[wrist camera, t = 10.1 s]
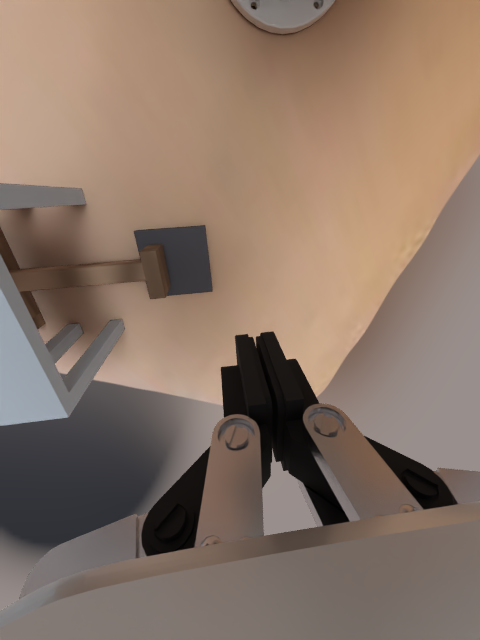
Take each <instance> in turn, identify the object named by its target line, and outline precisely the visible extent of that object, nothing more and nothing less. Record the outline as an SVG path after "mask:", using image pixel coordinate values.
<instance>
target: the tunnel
mask: <svg viewBox="0 0 480 640" xmlns="http://www.w3.org/2000/svg"><path fill="white" fill-rule="evenodd" d="M84 204H86V201H85V198H84V195H83V192H82V189H78V188H64V187H49V186H34V185H19V184H4V183H0V210H5V209H21V208H34V207H51V206H68V205H84ZM124 329H125V328H124V324H123V321H122V319H119V320H110V321H109V323H108V324H107V325H106V326H105V328H104V329H103V330H102V331H101V333H100V334H99V335H98V336H97V338H96V339H95V340H94V341H93V343H92V344H91V345H90V346H89V348H88V349H87V350H86V351H85V353H84V354H83V355H82V356H81V358H80V359H79V360H78V361H77V363H76V364H75V365H74V366H73V367H72V369H71V370H70V371H69V372H68V374H67V375H66V377H65V378H64V379H63V380H62V378H61V376H60V374H59V372H58V370H57V368H56V366H55V363H56V362H57V361H58V360H59V359H60V358H61V357H62V355H63V354H64V353H65V352H66V351H67V350H68V349H69V348H70V347H71V346H72V345H73V344H74V343H75V341H76V340H77V339H78V338H79V337H80V336H81V335H82V334H83V331H82V329H81V326H80V324H79V323H78V324H68V325H66V326H65V327H64V328H63V329H62V330H61V331H60V332H59V333H58V334H56V335H55V336H54V337H53V338H52V339H51V340H50V341H49V342H48V343H46V344H44V342H43V340H42V338H41V335H40V333H39V331H38V329H37V327H36V325H35V323H34V321H33V319H32V317H31V315H30V313H29V311H28V309H27V307H26V305H25V303H24V301H23V299H22V297H21V295H20V293H19V291H18V289H17V287H16V285H15V283H14V281H13V279H12V277H11V275H10V273H9V271H8V269H7V267H6V265H5V263H4V261H3V259H2V257H1V255H0V426H1V425H10V424H18V423H26V422H34V421H42V420H50V419H58V418H66V417H69V415H70V414H71V412H72V411H73V409H74V408H75V406H76V404H77V403H78V401H79V400H80V398H81V397H82V395H83V393H84V392H85V390H86V389H87V387H88V386H89V384H90V382H91V381H92V379H93V378H94V376H95V375H96V373H97V372H98V370H99V369H100V367H101V365H102V364H103V362H104V361H105V359H106V358H107V356H108V354H109V353H110V351H111V350H112V348H113V347H114V345H115V344H116V342H117V340H118V339H119V337H120V336H121V334H122V333H123V331H124Z"/></svg>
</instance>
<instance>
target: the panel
mask: <svg viewBox="0 0 480 640" xmlns="http://www.w3.org/2000/svg"><path fill="white" fill-rule="evenodd" d="M134 234H135V238H136V242H137V247H138V251H139V252H140V251H141V250H142V249H144V248H145V247H146V246H148V245H155V244H163V249H164V255H165V260H166V265H167V270H168V275H169V280H170V288H169V291H168V293H167V295H166V296H170V295H181V294H192V293H203V292H212V282H211V273H210V264H209V255H208V246H207V238H206V229H205V225H204V226H190V227H176V228H162V229H148V230H136V231H134ZM139 255H140V254H139ZM140 259H141V258H140ZM146 284H147V283H146ZM147 288H148V287H147ZM148 292H149V291H148ZM149 297H150V295H149Z"/></svg>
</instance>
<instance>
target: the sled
mask: <svg viewBox="0 0 480 640" xmlns="http://www.w3.org/2000/svg"><path fill="white" fill-rule="evenodd" d="M139 254H140V258H141V260H129V261H117V262H104V263H92V264H79V265H67V266H55V267H42V268H30V269H20V268H19V266H18V264H17V262H16V260H15V258H14V256H13V254H12V252H11V249H10V247H9V245H8V243H7V241H6V239H5V237H4V235H3V232H2V230H1V228H0V255H1V257H2V259H3V261H4V263H5V265H6V267H7V269H8V271H9V273H10V275H11V277H12V279H13V281H14V283H15V285H16V287H17V289H18V291H19V293H20V295H21V297H22V299H23V301H24V303H25V305H26V307H27V309H28V311H29V313H30V315H31V317H32V319H33V321H34V323H35V325H36V327H37V329H38V328H40V327H41V326H42V325H44V324H45V321H44V319H43V317H42V315H41V313H40V311H39V309H38V307H37V305H36V302H35V300H34V298H33V296H32V294H31V292H30V291H33V290H44V289H55V288H67V287H78V286H90V285H101V284H113V283H124V282H135V281H146V283H147V287H148V291H149V295H150V299H156V298H165V297H166V295H167V293H168V291H169V288H170V280H169V275H168V270H167V265H166V260H165V255H164V249H163V244H155V245H148V246H146V247H145V248H144V249H142V250H141V251H140V252H139Z"/></svg>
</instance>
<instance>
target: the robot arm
mask: <svg viewBox="0 0 480 640" xmlns="http://www.w3.org/2000/svg"><path fill="white" fill-rule="evenodd" d="M231 1H232V3H233V4H234V6H235V7H236V8H237V9H238V10H239V11H240V12H241V14H242V15H243V16H244V17H245V18H246V19H247V20H249V21H250V22H251V23H253V24H254V25H256V26H257V27H259V28H261V29H264V30H266V31H268V32H271V33H279V34H287V33H294V32H298V31H300V30H302V29H305V28H307V27H309V26H311V25H312V24H313V23H315V22H316V21H317V20H319V19H320V18H321V17H322V16H323V15H324V14H325V13H326V12H327V11H328V9H329V8H330V7H331V6H332V5H333V3H334V2H335V0H231ZM314 5H315V6H316V7H317V9H316V8H315V7H314ZM251 6H255V8H256V10H254V9H252V8H251ZM235 341H236V354H237V365H236V366H227V367H221V377H222V393H223V408H224V418H223V419H222V420H220V421H219V422H218V423H217V425H216V426H215V428H214V431H213V434H212V441H211V446H210V447H209V448H208V449H207V450H206V451H205V453H203V454H202V455H201V457H200V458H199V459H198V460H197V461H196V462H195V463H194V464H193V465H192V466H191V467H190V468H189V469H188V470H187V471H186V473H184V474H183V475H182V476H181V478H180V479H179V480H178V481H177V482H176V483H175V484H174V485H173V486H172V487H171V488H170V489H169V490H168V491H167V492H166V493H165V494H164V495H163V496H162V497H161V499H160V500H159V501H158V502H157V503H156V504H155V505H154V506H153V508H152V509H151V510H150V511H149V512H148V513H146V514H144V515H141V516H139V517H138V516H137V514H134V515H132V516H129V517H127V518H125V519H122V520H120V521H117V522H114V523H112V524H110V525H107V526H105V527H102V528H100V529H97V530H95V531H92V532H90V533H87V534H85V535H83V536H80V537H78V538H75V539H73V540H70V541H68V542H65V543H63V544H61V545H59V546H57V547H56V548H54V549H52V550H50V551H49V552H48V553H47V554H46V555H45V556H44V557H42V558H41V559H40V560H39V561H38V562H37V564H36V565H35V567H34V568H33V570H32V571H31V572H30V573H29V575H28V577H27V579H26V581H25V584H24V586H23V588H22V591H21V594H20V597H19V600H17V601H15V602H14V603H12V604H11V605H9V606H7V607H6V608H4V609H3V610H1V611H0V640H480V472H478V471H467V470H455V469H445V468H437V470H436V471H432V470H431V469H429V468H427V467H426V466H424V465H422V464H421V463H418V462H416V461H414V460H412V459H410V458H408V457H406V456H404V455H402V454H400V453H398V452H396V451H394V450H392V449H390V448H388V447H386V446H384V445H382V444H380V443H378V442H376V441H374V440H372V439H370V438H368V437H365V436H363V435H362V433H361V432H360V431H359V430H358V428H357V427H356V426H355V425H354V424H353V423H352V421H351V420H350V419H349V417H348V416H347V415H346V414H345V413H344V412H343V411H342V410H340V409H338V408H337V407H335V406H332V405H329V404H322V403H321V404H319V402H318V400H317V398H316V396H315V394H314V392H313V390H312V388H311V386H310V384H309V383H308V381H307V379H306V377H305V375H304V373H303V371H302V369H301V367H300V365H299V363H298V362H297V360H296V359H289V360H286V358H285V356H284V353H283V351H282V349H281V347H280V345H279V342H278V340H277V338H276V336H275V334H274V332H264V333H261V334H260V336H257V337H256V346H255V342H254V339H253V337H248V334H245V335H235ZM272 449H273V453H274V457H275V460H276V462H279V461H281V464H282V467H283V471H286V470H288V471H289V473H290V474H291V475H292V476H294V477H296V478H297V479H298V484H299V487H300V489H301V491H302V494H303V496H304V498H305V500H306V503H307V505H308V507H309V509H310V511H311V514H312V516H313V518H314V520H315V522H316V525H317V527H315V528H309V529H303V530H297V531H291V532H284V533H278V534H273V535H267V536H264V532H263V502H262V488H263V487H264V485H265V484H266V482H267V481H268V479H269V478H270V475H271V474H270V473H271V462H272Z"/></svg>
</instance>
